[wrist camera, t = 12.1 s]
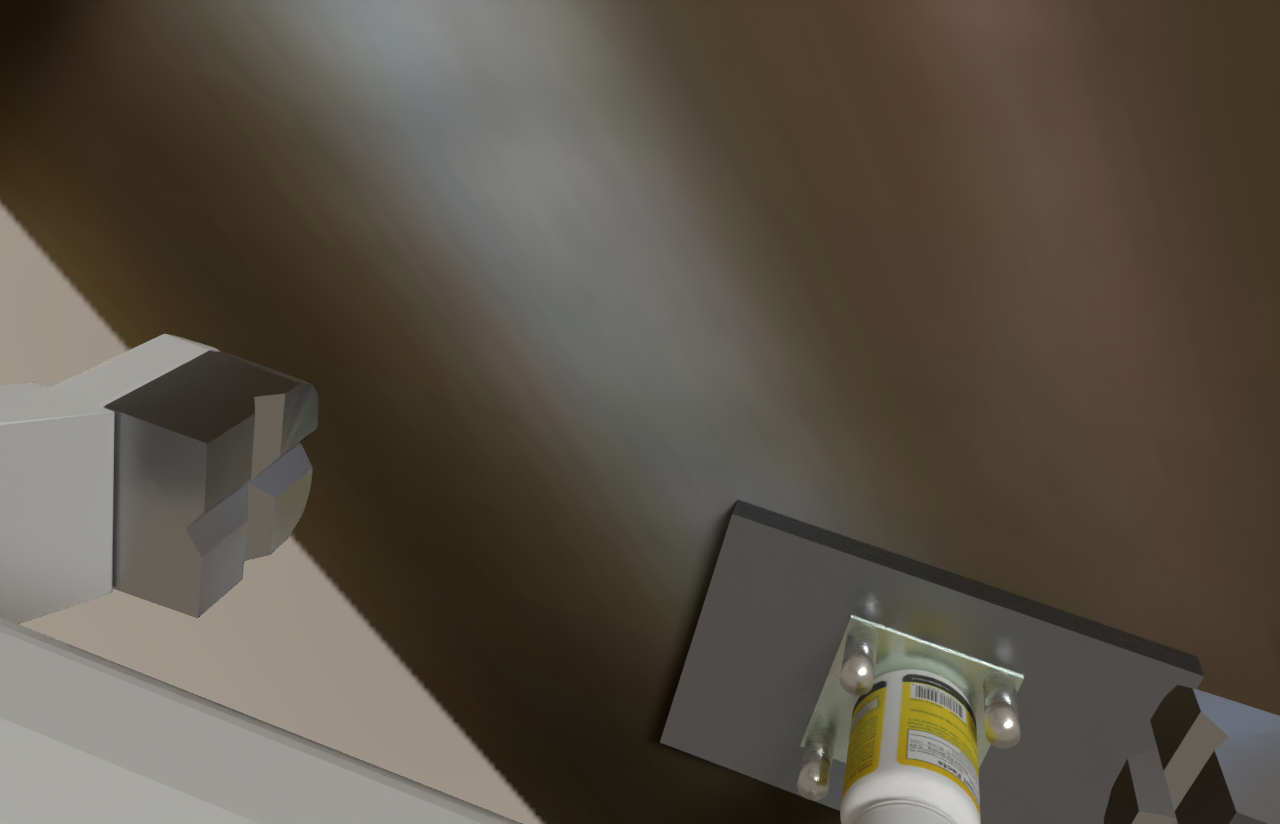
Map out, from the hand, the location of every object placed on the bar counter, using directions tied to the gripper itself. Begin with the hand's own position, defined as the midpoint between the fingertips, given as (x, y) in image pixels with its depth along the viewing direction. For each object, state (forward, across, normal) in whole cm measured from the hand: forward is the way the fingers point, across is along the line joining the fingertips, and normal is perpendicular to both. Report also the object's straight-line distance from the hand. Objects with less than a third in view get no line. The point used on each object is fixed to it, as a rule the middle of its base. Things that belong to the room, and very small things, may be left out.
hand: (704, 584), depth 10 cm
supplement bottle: (+28, -9, +21) cm, 36 cm away
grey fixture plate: (+29, -8, +21) cm, 36 cm away
